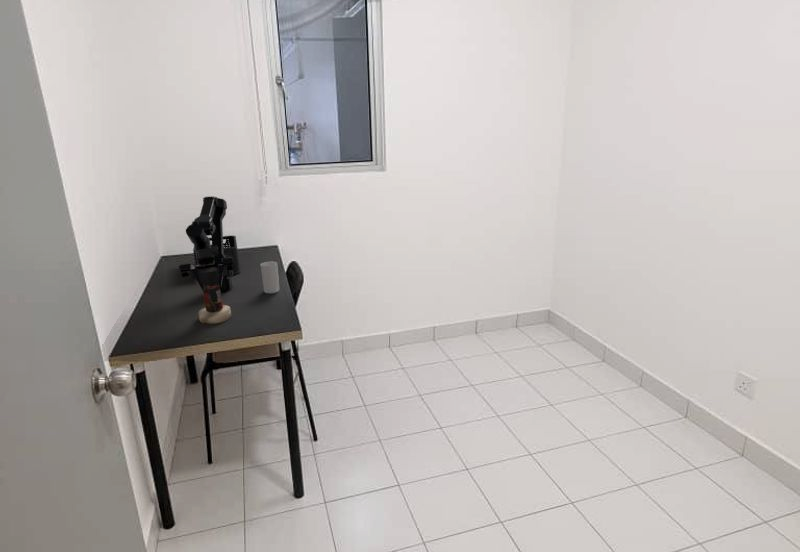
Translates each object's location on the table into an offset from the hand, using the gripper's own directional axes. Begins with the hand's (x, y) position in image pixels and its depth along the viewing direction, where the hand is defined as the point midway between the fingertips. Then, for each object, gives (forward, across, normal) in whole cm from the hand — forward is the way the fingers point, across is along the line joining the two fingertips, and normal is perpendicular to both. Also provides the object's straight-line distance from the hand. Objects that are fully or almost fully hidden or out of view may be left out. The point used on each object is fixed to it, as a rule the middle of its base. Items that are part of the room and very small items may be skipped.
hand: (211, 287), depth 176 cm
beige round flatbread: (+8, 0, +9) cm, 12 cm away
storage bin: (-38, +9, +57) cm, 69 cm away
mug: (-6, +25, +24) cm, 36 cm away
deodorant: (+5, 0, +7) cm, 9 cm away
